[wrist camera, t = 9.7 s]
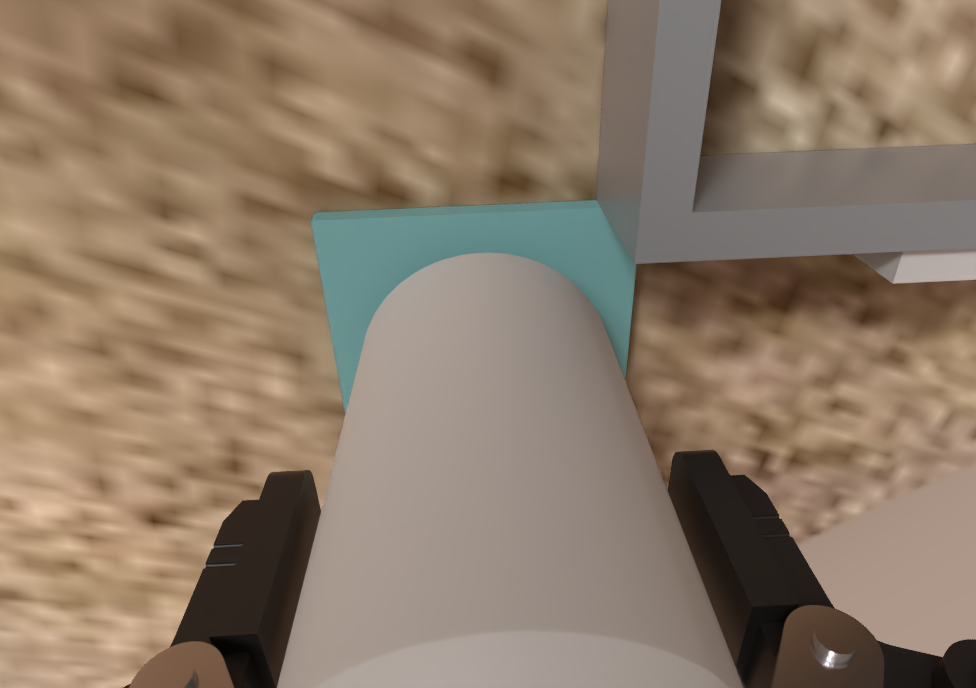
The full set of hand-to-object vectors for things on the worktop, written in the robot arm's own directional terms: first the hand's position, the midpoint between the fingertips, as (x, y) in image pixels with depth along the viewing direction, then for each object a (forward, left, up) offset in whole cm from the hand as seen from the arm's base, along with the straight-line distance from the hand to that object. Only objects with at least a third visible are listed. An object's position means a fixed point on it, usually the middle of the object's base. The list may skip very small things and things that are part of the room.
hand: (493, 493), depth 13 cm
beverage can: (0, 0, -6) cm, 6 cm away
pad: (0, 0, -6) cm, 6 cm away
